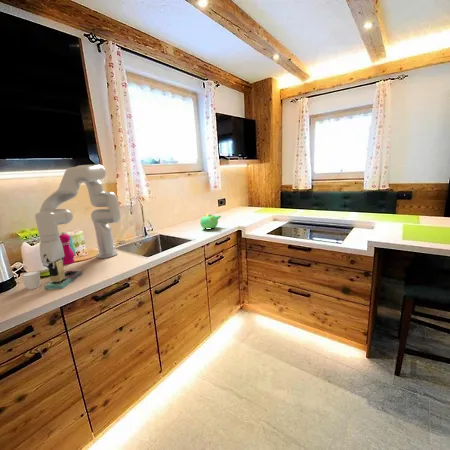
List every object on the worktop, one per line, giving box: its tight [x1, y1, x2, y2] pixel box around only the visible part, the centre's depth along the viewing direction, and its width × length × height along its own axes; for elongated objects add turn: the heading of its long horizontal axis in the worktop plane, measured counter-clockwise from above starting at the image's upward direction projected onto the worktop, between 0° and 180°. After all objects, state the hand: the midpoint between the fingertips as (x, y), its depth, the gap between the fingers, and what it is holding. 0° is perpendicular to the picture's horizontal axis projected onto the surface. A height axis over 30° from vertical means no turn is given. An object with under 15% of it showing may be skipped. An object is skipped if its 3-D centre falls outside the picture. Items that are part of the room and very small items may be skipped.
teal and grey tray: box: [44, 269, 83, 290], centre depth 120 cm, size 17×8×2 cm, turn 2°
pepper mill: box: [59, 231, 76, 265], centre depth 144 cm, size 7×7×20 cm
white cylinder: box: [21, 270, 42, 290], centre depth 114 cm, size 7×7×7 cm
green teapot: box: [199, 213, 222, 229], centre depth 219 cm, size 18×17×15 cm
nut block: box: [50, 259, 65, 282], centre depth 114 cm, size 4×4×10 cm
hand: (57, 273), depth 114 cm, fingers closed on nut block, 4 cm apart
